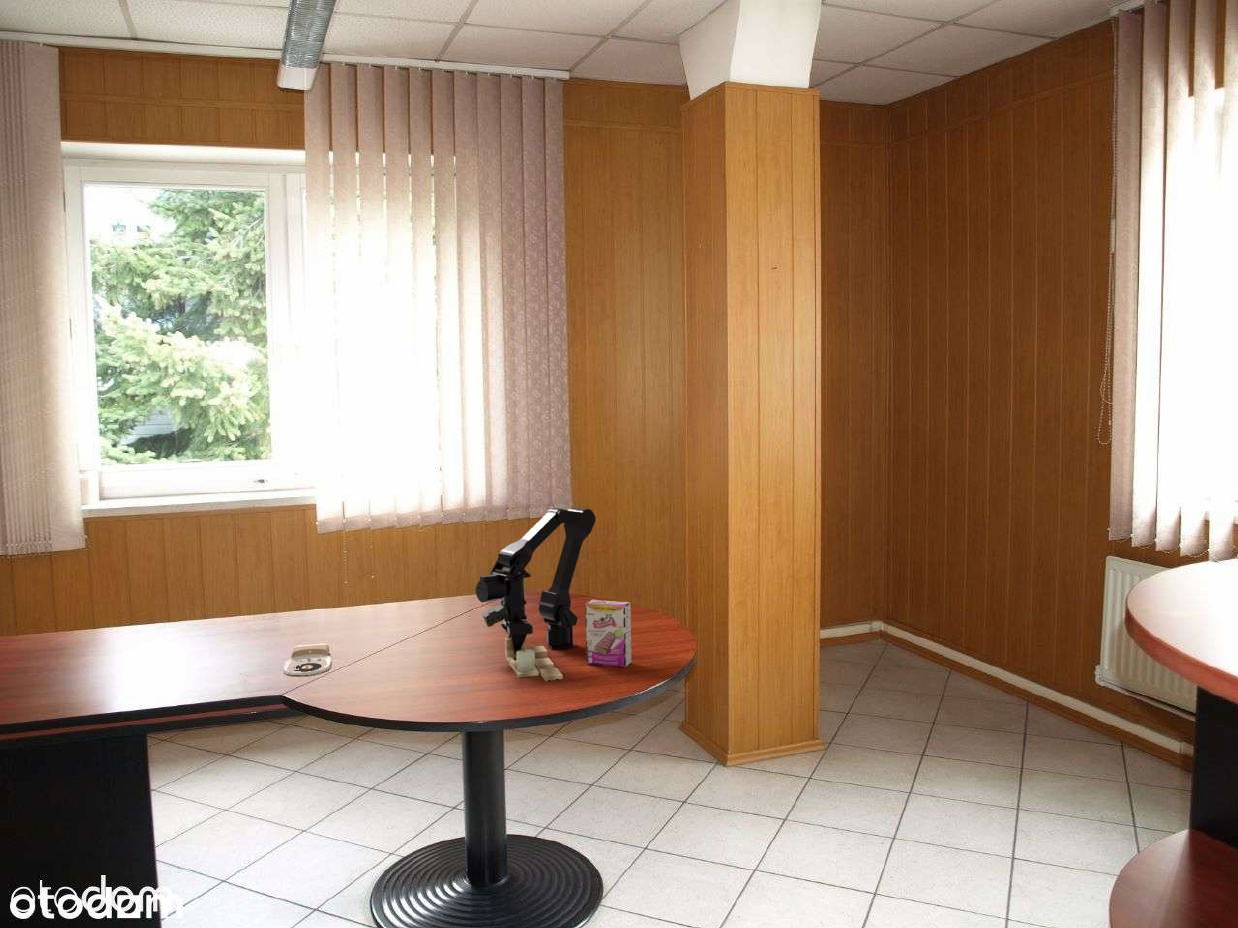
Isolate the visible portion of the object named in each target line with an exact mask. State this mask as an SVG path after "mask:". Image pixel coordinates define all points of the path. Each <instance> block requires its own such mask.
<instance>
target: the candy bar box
mask: <svg viewBox="0 0 1238 928" xmlns="http://www.w3.org/2000/svg"><path fill="white" fill-rule="evenodd" d="M631 604H632V603H631V602H628V601H617V600H615V601H613V600H602V599H601V600H600V599H591V600H588V602H587V601H586V602H585V604H584V606H585V612H584V613H585V652H586V653H585V654H586V655H585V658H586V664H587V665H594V666H604V667H605V666H606V667H617V668H627V667H628V666H629V665H630V664H631V663H632V621H631V619H632V618H631V617H632V616H631V614H632V612H631V611H632V610H631V609H632V607H631V606H632V605H631Z"/></svg>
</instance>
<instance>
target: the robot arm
mask: <svg viewBox="0 0 1238 928" xmlns="http://www.w3.org/2000/svg"><path fill="white" fill-rule="evenodd" d="M596 518H597V517H596V515H595V513H594V512H593V510H592V509H590V508H583V507H578V506H577V507H576V506H573V507H570V508H569V509H564V508H558V507H551V508H549V509H548V510H547V512H546V514H545V515H544V516H542V518H541V519H540V520H539V521H538V522H536V524H534V526H533V527H531V529H529V531H527V533H525V535H523V537H522V538H521V539H518V540H517V541H515V542H514V541H513V543H510V544H508V545H507V546H505V547H504V548H502V549H501V550H500V552H499V553H498V555H497V559H496V561H495V563H494V564H493V567H492V569H491V571H490V574H489V575H480V576H479V581H478V582H477V583H476V586H475V595H476V598H477V600H478V601H479V602H480V603H487V602H493V601H496V600H500V604H499V605H497V606H493V607H491V608H488V609H487V610H485V611H483V612H481V617H482V618H483V621H484V622H485V625H486V626H487V627H488V628H490V627H492V626H494V625H495V624H498V623H501V622H502V621H503V623H502V624H500V626H501V628H502V629H503V630H504V631H505V633H506V634H507V636H508V637H511V640H512V644H513V649H514V654H515V655H517V651H519V650H521V648H522V645H523V643H524V640H525V638H526V639H527V635H532V634H534V626H533V625H532V623H531V622H529V621H528V616H527V614H526V607H525V606H526V605H527V600H526V598H525V579H527V578H531V577H532V575H531V574H530V573H529V572H528V571H527V570H526V568H527V567H528V565H529V563H531V560H532V558H533V555H534V552H535V551H536V550H537V549H538V548H539V547H540V546H541V545H542V544H543V543H544V542H545V541H546V540H547V539H548V538H549V537H550V536H551V535H552V534H553V533H554V532H555V531H556V530H557V529H558V528H559V527H560V526H561V524H564V525H563V528H564V532H565V540H564V543H563V546H562V549H561V553H560V556H559V559H558V562H557V567H556V570H555V574H554V577H553V581H552V584H551V586H550V587H549V589H548V590H542V592H541V594H540V595H541V596H540V599H539V602H538V603H537V605H539V606H538V612H539V614H540V616H541V617H542V619H543V622H544V623H545V624H547V627H548V628H546V629H545V630H546V631H545V632H546V644H547V645H548V646H549V648H551V650H560V649H569V648H575V644H574V635H573V634H574V633H573V632H574V631H573V630H574V629H573V627H574V626H577V623H578V619H579V618H578V616H577V615H576V614H574V612H573V611H572V610H571V604H572V601H571V595H570V589H571V585H572V582H573V578H574V573H575V571H576V568H577V563H578V562H579V561H578V560H579V556H580V554H581V549H582V546H583V543H584V541H585V540H586V539H587V537H589V535H590V534H592V530H593V528H594V526H595V523H596Z"/></svg>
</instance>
